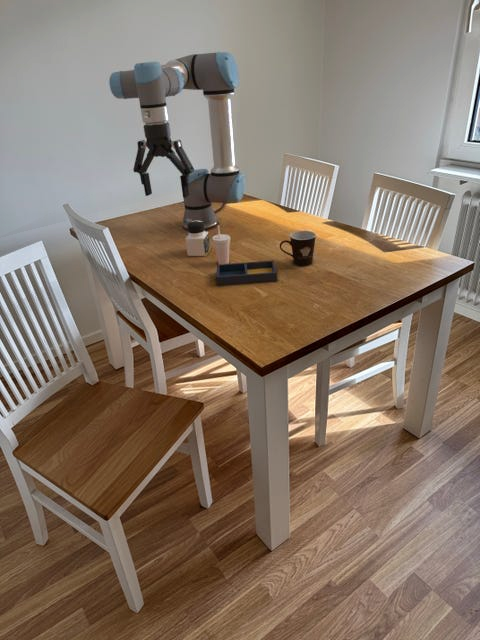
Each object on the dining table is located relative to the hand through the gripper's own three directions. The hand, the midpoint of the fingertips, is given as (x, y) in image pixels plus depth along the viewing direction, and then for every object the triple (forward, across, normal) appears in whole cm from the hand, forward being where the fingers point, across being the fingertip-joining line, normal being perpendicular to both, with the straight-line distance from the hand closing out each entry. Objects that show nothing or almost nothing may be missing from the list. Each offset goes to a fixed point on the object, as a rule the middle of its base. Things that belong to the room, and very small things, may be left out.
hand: (167, 195), depth 143 cm
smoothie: (+28, +11, +12) cm, 32 cm away
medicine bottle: (+28, -2, +19) cm, 33 cm away
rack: (+27, +24, +4) cm, 36 cm away
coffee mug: (+28, +37, +19) cm, 50 cm away
